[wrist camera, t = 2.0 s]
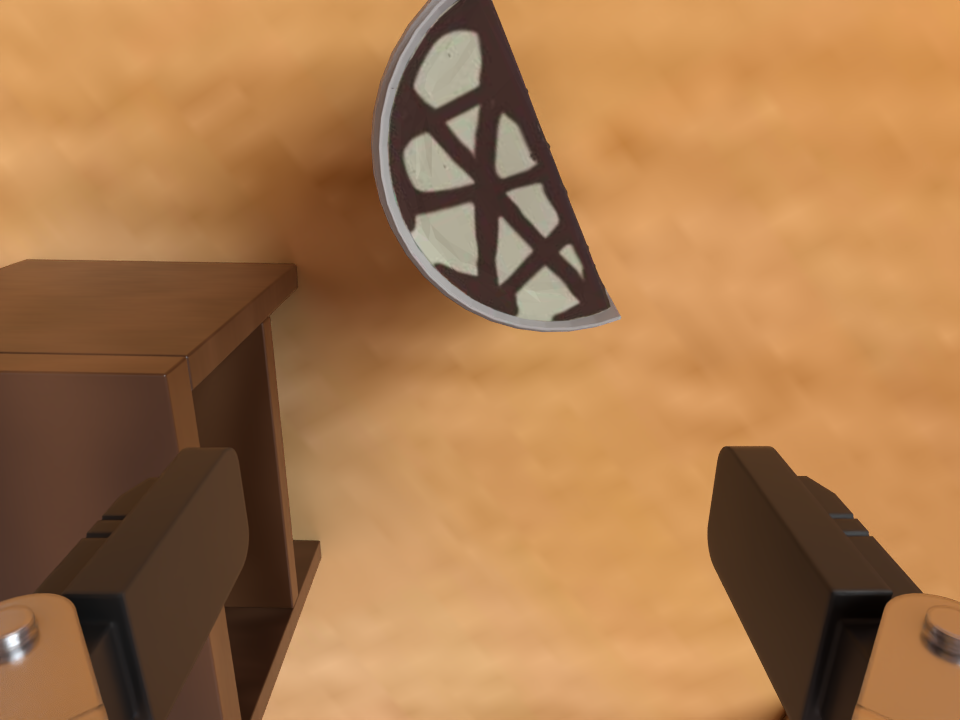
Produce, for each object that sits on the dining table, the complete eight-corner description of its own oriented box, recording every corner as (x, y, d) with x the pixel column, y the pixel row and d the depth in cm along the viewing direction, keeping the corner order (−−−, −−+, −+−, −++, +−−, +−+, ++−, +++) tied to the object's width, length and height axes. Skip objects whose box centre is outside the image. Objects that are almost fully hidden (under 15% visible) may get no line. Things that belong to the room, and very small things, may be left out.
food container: (351, 63, 29) (286, 46, 20) (482, -3, 28) (478, -53, 19) (469, 314, 33) (460, 398, 24) (587, 264, 32) (626, 332, 23)
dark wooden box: (296, 263, 32) (165, 374, 19) (321, 558, 38) (234, 793, 25) (25, 259, 32) (-287, 366, 19) (93, 553, 39) (-110, 786, 25)
